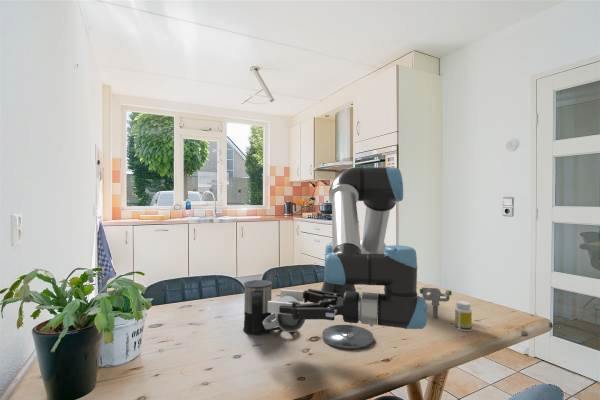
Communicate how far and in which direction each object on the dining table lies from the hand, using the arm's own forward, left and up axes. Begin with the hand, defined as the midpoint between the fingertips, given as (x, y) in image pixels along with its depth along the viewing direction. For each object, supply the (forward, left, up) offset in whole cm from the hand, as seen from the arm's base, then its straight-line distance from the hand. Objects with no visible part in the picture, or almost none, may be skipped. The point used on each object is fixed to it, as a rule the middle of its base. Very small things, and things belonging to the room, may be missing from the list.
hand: (274, 300), depth 85 cm
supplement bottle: (+15, +60, -15) cm, 64 cm away
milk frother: (-15, +6, -15) cm, 22 cm away
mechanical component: (+4, +61, -15) cm, 63 cm away
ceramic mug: (+2, +1, -7) cm, 7 cm away
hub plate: (+2, +23, -14) cm, 27 cm away
